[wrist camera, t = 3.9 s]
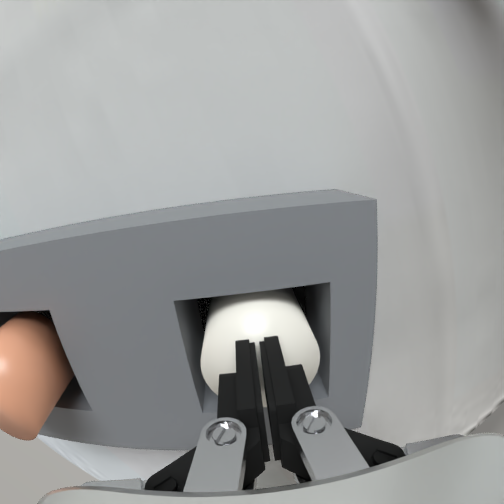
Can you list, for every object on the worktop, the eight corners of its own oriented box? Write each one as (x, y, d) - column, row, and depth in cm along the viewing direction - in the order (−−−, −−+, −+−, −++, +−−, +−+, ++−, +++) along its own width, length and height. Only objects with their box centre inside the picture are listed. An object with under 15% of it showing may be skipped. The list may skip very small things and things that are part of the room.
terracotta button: (58, 308, 13) (4, 362, 8) (88, 385, 14) (55, 448, 9) (-1, 311, 13) (-52, 353, 8) (29, 380, 14) (-8, 430, 9)
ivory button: (294, 264, 16) (319, 304, 11) (299, 342, 17) (319, 398, 12) (202, 275, 16) (189, 320, 11) (216, 352, 17) (212, 412, 12)
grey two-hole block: (335, 189, 16) (376, 199, 11) (337, 375, 19) (361, 427, 14) (-8, 241, 15) (-56, 263, 10) (46, 389, 18) (19, 429, 13)
